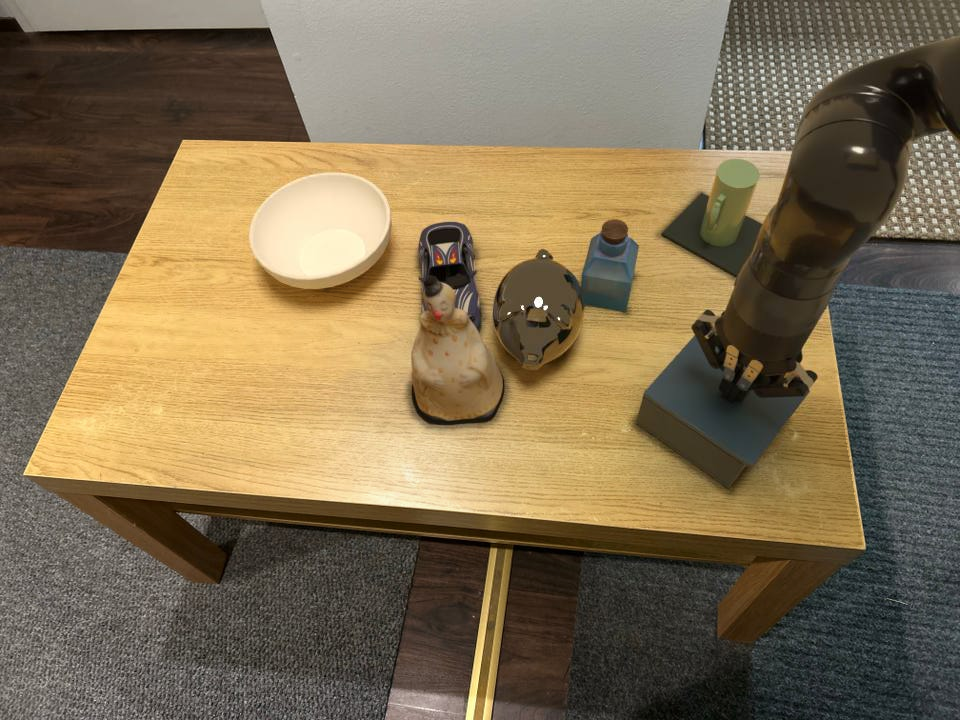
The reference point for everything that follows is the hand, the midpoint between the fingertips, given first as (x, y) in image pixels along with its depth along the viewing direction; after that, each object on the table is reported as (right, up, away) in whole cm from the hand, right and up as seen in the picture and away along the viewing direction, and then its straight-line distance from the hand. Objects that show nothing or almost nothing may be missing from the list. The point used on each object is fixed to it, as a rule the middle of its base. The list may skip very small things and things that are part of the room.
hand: (731, 394), depth 75 cm
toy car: (-31, +14, +21) cm, 40 cm away
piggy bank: (-20, +6, +15) cm, 26 cm away
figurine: (-30, 0, +12) cm, 32 cm away
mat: (+6, +21, +22) cm, 31 cm away
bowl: (-49, +19, +25) cm, 58 cm away
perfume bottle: (-10, +13, +18) cm, 25 cm away
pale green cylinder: (+6, +22, +21) cm, 31 cm away
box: (0, -4, +7) cm, 8 cm away
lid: (0, 0, +1) cm, 1 cm away
